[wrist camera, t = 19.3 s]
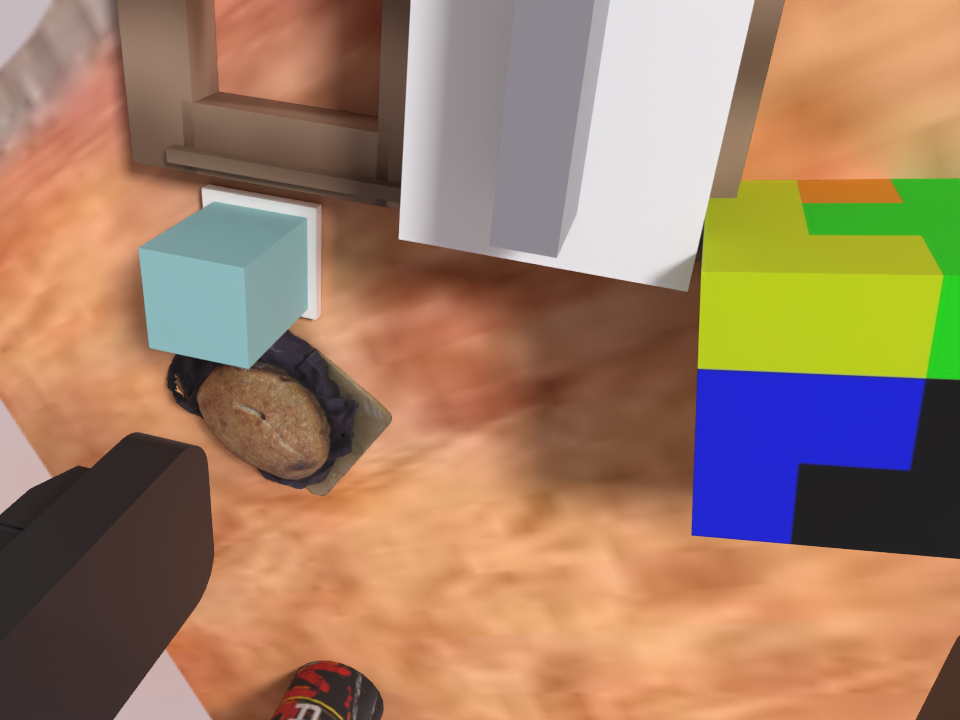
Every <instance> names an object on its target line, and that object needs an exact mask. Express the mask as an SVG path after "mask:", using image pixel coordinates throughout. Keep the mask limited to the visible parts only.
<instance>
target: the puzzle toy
mask: <svg viewBox="0 0 960 720" xmlns="http://www.w3.org/2000/svg"><path fill="white" fill-rule="evenodd" d="M692 535H693V536H704V537H715V538H727V539H738V540H750V541H761V542H772V543H784V544H795V545H807V546H818V547H829V548H841V549H852V550H864V551H875V552H886V553H898V554H909V555H921V556H932V557H943V558H955V559H960V179H856V180H751V181H741V182H740V186H739V190H738V194H737V198H709V201H708V206H707V210H706V214H705V223H704V237H703V252H702V267H701V290H700V317H699V345H698V372H697V399H696V426H695V454H694V481H693V508H692Z"/></svg>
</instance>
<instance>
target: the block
mask: <svg viewBox="0 0 960 720" xmlns="http://www.w3.org/2000/svg"><path fill="white" fill-rule="evenodd" d="M138 249H139V258H140V267H141V276H142V286H143V295H144V304H145V313H146V323H147V332H148V341H149V348H152V349H156V350H161V351H166V352H171V353H175V354H180V355H185V356H190V357H194V358H199V359H204V360H209V361H213V362H218V363H223V364H228V365H232V366H237V367H242V368H247V369H249V368H250V367H251V366H252V365H253V364H254V363H255V362H256V361H257V360H258V359H259V358H260V357H261V356H262V355H263V354H264V353H265V352H266V351H267V350H268V349H269V348H270V347H271V346H272V345H273V344H274V343H275V342H276V341H277V340H278V339H279V338H280V337H281V336H282V335H283V334H284V333H285V332H286V331H287V330H288V329H289V328H290V327H291V326H292V325H293V324H294V323H295V321H296V320H297V319H298V318H299V317H300V316H301V315H302V314H303V313H304V312H305V311H306V310H307V309H308V248H307V218H305V217H300V216H294V215H288V214H283V213H277V212H272V211H266V210H260V209H255V208H249V207H243V206H238V205H232V204H226V203H221V202H215V201H214V202H212V203H210V204H209V205H207V206H206V207H204V208H202V209H201V210H199V211H197V212H196V213H194V214H193V215H191V216H189V217H188V218H186V219H185V220H183V221H181V222H180V223H178V224H176V225H175V226H173V227H172V228H170V229H168V230H167V231H165V232H164V233H162V234H160V235H159V236H157V237H155V238H154V239H152V240H151V241H149V242H147V243H146V244H144V245H142V246H141V247H139V248H138Z"/></svg>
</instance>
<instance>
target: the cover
mask: <svg viewBox="0 0 960 720" xmlns="http://www.w3.org/2000/svg"><path fill="white" fill-rule="evenodd" d="M754 1H755V0H411V6H410V25H409V45H408V65H407V84H406V104H405V124H404V143H403V163H402V183H401V202H400V222H399V239H401V240H406V241H412V242H417V243H423V244H428V245H434V246H439V247H445V248H450V249H455V250H461V251H466V252H472V253H477V254H483V255H488V256H494V257H499V258H505V259H510V260H516V261H521V262H527V263H532V264H538V265H543V266H549V267H554V268H560V269H565V270H571V271H576V272H582V273H587V274H592V275H598V276H603V277H609V278H614V279H620V280H625V281H631V282H636V283H642V284H647V285H653V286H658V287H664V288H669V289H675V290H680V291H686V292H688V288H689V284H690V280H691V275H692V271H693V266H694V262H695V258H696V253H697V249H698V245H699V240H700V236H701V232H702V227H703V223H704V219H705V214H706V210H707V206H708V201H709V197H710V192H711V188H712V184H713V179H714V175H715V171H716V166H717V162H718V158H719V153H720V149H721V145H722V140H723V136H724V132H725V127H726V123H727V118H728V114H729V110H730V105H731V101H732V97H733V92H734V88H735V84H736V79H737V75H738V71H739V66H740V62H741V58H742V53H743V49H744V44H745V40H746V36H747V31H748V27H749V23H750V18H751V14H752V10H753V5H754Z"/></svg>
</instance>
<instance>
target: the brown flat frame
mask: <svg viewBox="0 0 960 720" xmlns="http://www.w3.org/2000/svg"><path fill="white" fill-rule="evenodd" d="M784 2H785V0H755V1H754V5H753V10H752V14H751V18H750V23H749V27H748V31H747V36H746V40H745V44H744V49H743V53H742V58H741V62H740V66H739V71H738V75H737V79H736V84H735V88H734V92H733V97H732V101H731V105H730V110H729V114H728V118H727V123H726V127H725V132H724V136H723V140H722V145H721V149H720V153H719V158H718V162H717V166H716V171H715V175H714V179H713V184H712V188H711V192H710V197H709V198H737V194H738V190H739V186H740V182H741V177H742V173H743V169H744V165H745V161H746V157H747V153H748V149H749V145H750V141H751V137H752V133H753V129H754V125H755V120H756V116H757V112H758V108H759V104H760V100H761V96H762V92H763V88H764V84H765V80H766V76H767V72H768V67H769V63H770V59H771V55H772V51H773V47H774V43H775V39H776V35H777V31H778V27H779V23H780V19H781V15H782V10H783V6H784ZM410 6H411V0H382V26H381V53H380V81H379V109H378V117H374V116H368V115H362V114H355V113H349V112H343V111H336V110H330V109H324V108H318V107H311V106H305V105H299V104H293V103H286V102H280V101H274V100H267V99H261V98H255V97H249V96H242V95H236V94H230V93H224V92H219V91H218V71H217V52H216V33H215V13H214V0H117V9H118V18H119V28H120V38H121V48H122V58H123V67H124V77H125V87H126V97H127V107H128V116H129V126H130V136H131V146H132V155H133V162H134V163H140V164H145V165H151V166H157V167H162V168H168V169H173V170H179V171H185V172H190V173H196V174H202V175H207V176H213V177H219V178H224V179H230V180H236V181H241V182H247V183H253V184H258V185H264V186H270V187H275V188H281V189H287V190H292V191H298V192H304V193H309V194H315V195H321V196H326V197H332V198H338V199H343V200H349V201H355V202H360V203H366V204H372V205H377V206H383V207H389V208H394V209H400V202H401V183H402V163H403V143H404V124H405V104H406V84H407V65H408V45H409V25H410ZM704 223H705V219H704ZM704 223H703V227H702V232H701V236H700V240H699V245H698V249H697V253H696V258H695V262H700V263H702V252H703V237H704Z"/></svg>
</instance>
